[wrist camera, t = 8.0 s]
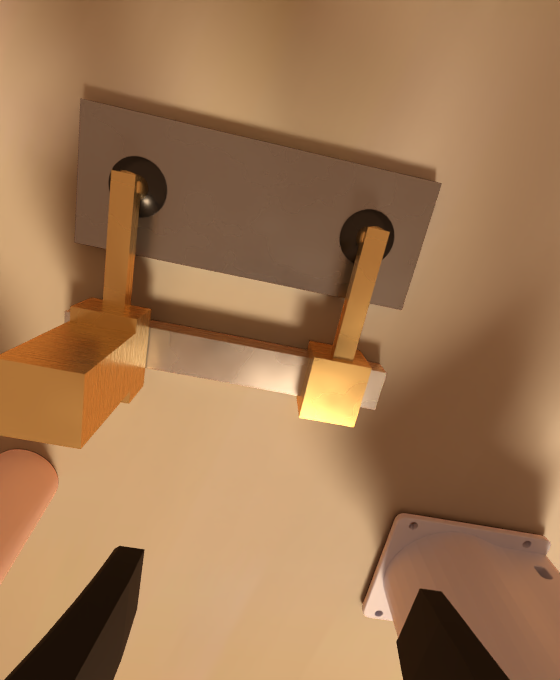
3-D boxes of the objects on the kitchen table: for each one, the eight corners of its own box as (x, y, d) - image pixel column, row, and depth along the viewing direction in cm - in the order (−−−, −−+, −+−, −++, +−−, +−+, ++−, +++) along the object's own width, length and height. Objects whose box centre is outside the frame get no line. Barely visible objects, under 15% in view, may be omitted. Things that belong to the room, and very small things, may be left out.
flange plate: (435, 184, 16) (442, 183, 16) (397, 307, 18) (402, 310, 17) (87, 103, 15) (79, 97, 14) (81, 241, 17) (73, 242, 16)
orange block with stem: (168, 181, 15) (96, 153, 9) (146, 381, 18) (79, 465, 12) (105, 167, 15) (-13, 129, 9) (92, 371, 18) (-5, 451, 12)
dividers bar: (419, 237, 17) (441, 240, 15) (366, 407, 20) (378, 431, 17) (85, 163, 16) (53, 153, 14) (76, 353, 18) (48, 372, 16)
